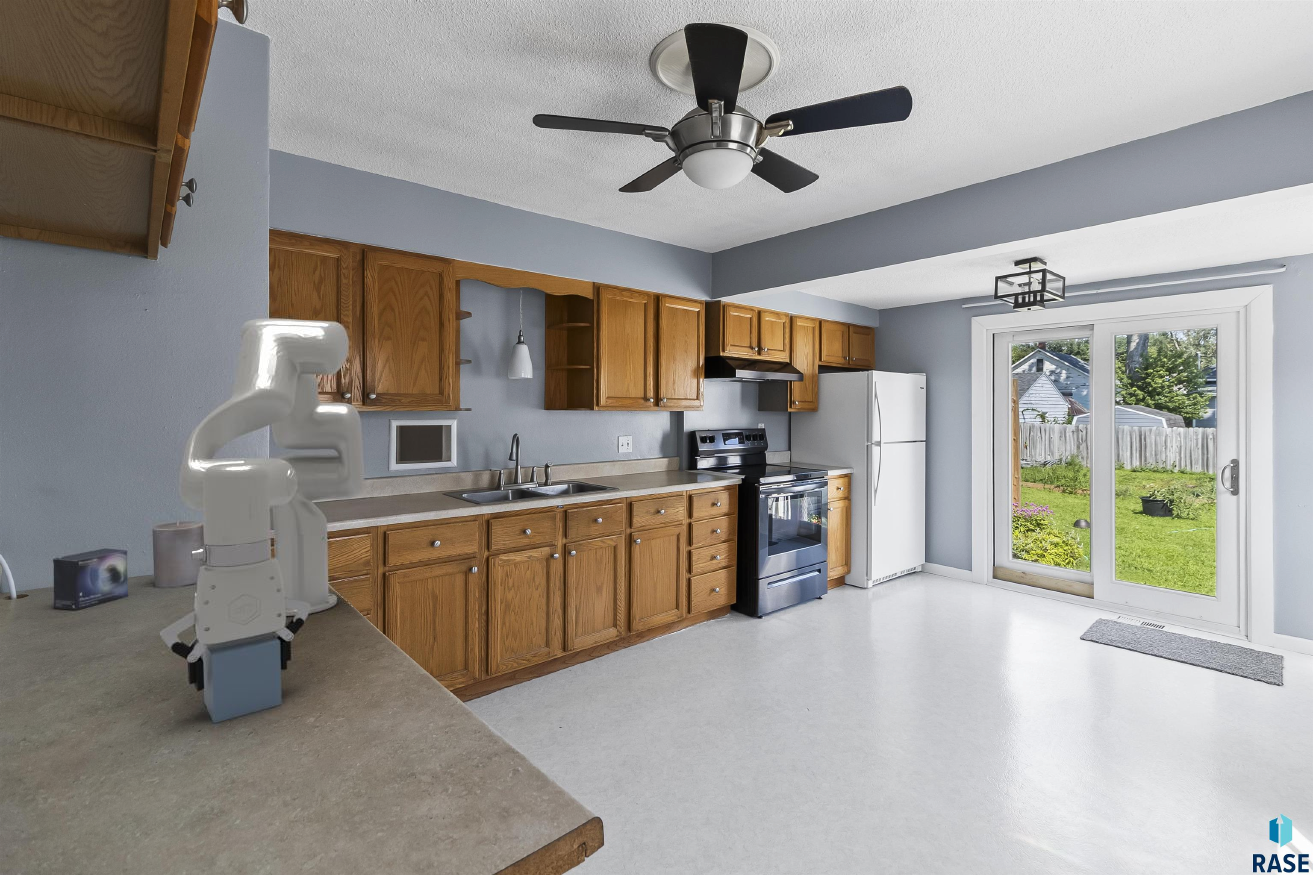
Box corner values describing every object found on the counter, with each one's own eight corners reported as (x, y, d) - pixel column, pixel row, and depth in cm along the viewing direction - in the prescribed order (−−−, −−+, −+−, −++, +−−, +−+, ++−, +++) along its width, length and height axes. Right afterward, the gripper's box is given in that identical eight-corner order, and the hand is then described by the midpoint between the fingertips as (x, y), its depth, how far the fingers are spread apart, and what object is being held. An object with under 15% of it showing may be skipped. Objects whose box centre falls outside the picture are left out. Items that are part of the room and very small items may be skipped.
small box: (77, 611, 127) (75, 560, 127) (51, 609, 129) (49, 558, 128) (130, 596, 138) (128, 548, 137) (106, 594, 139) (104, 547, 139)
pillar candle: (169, 578, 153) (166, 516, 152) (213, 575, 155) (211, 515, 154) (144, 589, 143) (141, 524, 142) (192, 587, 145) (189, 522, 144)
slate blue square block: (204, 703, 87) (202, 640, 87) (268, 686, 92) (266, 627, 92) (214, 723, 81) (212, 656, 81) (281, 704, 87) (280, 641, 86)
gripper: (161, 569, 77) (165, 706, 78) (316, 548, 89) (318, 667, 90) (155, 559, 83) (159, 687, 83) (301, 540, 95) (304, 652, 95)
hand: (241, 676), depth 87 cm, fingers open, 9 cm apart
